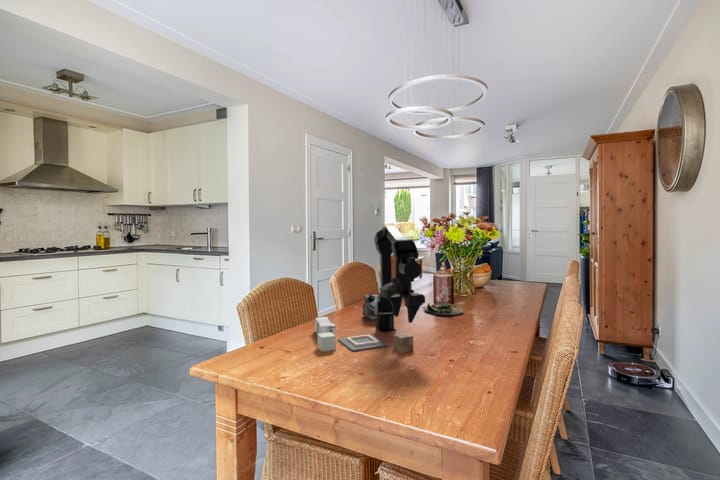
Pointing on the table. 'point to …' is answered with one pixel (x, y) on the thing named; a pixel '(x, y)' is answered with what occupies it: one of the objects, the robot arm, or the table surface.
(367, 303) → the lucky cat figurine
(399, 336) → the walnut block
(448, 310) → the salad plate
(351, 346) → the square panel
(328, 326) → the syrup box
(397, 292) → the robot arm
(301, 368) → the table surface
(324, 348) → the sage block
